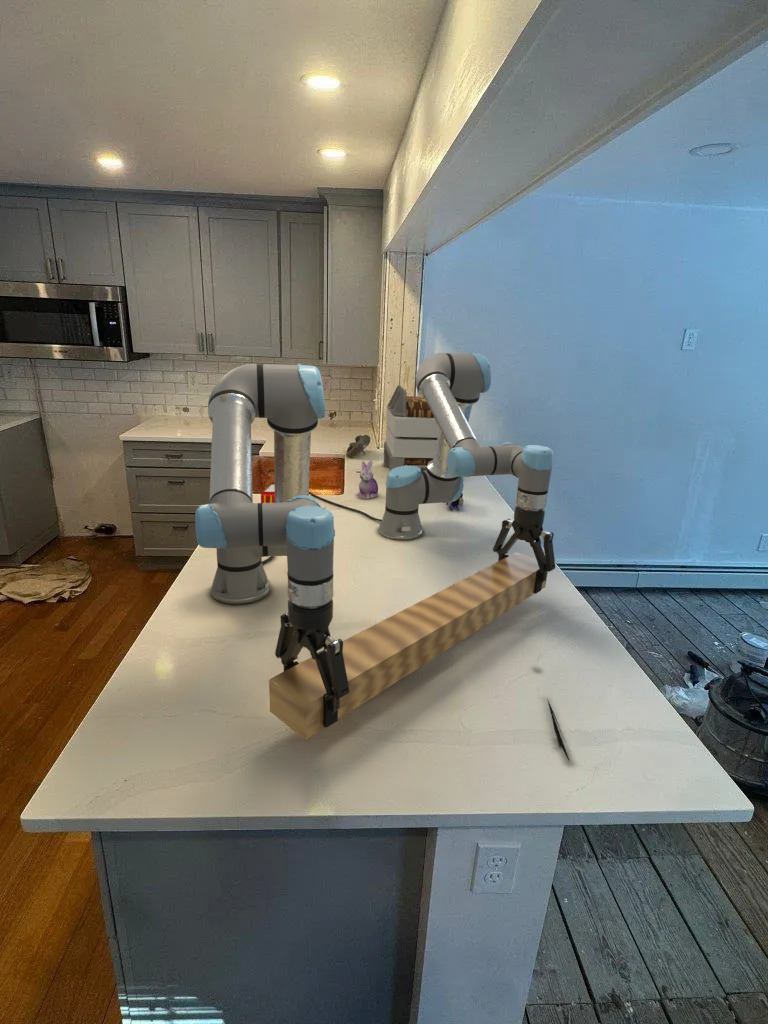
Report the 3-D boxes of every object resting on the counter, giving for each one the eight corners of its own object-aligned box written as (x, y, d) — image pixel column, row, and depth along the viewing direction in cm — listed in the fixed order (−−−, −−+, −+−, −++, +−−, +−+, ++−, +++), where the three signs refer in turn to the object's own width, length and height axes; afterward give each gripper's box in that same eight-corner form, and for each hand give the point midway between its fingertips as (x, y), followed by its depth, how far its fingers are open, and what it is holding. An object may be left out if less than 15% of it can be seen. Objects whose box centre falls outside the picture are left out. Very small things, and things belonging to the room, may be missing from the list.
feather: (537, 674, 127) (543, 668, 127) (569, 765, 101) (576, 758, 100) (531, 670, 127) (536, 664, 126) (561, 760, 100) (568, 753, 100)
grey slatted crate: (382, 463, 289) (386, 382, 275) (445, 464, 293) (451, 384, 279) (390, 482, 257) (394, 392, 243) (460, 483, 261) (468, 394, 247)
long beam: (513, 574, 159) (516, 552, 157) (545, 587, 153) (549, 563, 151) (269, 711, 102) (268, 678, 99) (305, 740, 95) (305, 706, 93)
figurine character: (463, 515, 225) (458, 499, 238) (465, 497, 221) (460, 482, 235) (446, 514, 224) (442, 498, 238) (448, 497, 221) (444, 482, 235)
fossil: (346, 440, 314) (367, 425, 309) (357, 454, 317) (378, 439, 312) (340, 454, 295) (362, 438, 290) (351, 468, 298) (374, 453, 293)
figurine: (363, 500, 232) (364, 465, 227) (352, 493, 240) (353, 459, 235) (383, 498, 236) (385, 463, 231) (372, 491, 244) (373, 457, 239)
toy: (300, 480, 222) (290, 493, 193) (300, 513, 225) (290, 531, 196) (269, 479, 222) (255, 492, 193) (270, 512, 225) (255, 530, 195)
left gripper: (252, 582, 99) (256, 688, 107) (339, 634, 85) (337, 752, 92) (286, 569, 104) (288, 671, 112) (374, 616, 90) (369, 730, 97)
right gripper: (484, 498, 149) (476, 574, 157) (564, 522, 135) (551, 604, 142) (500, 492, 154) (491, 566, 162) (578, 515, 140) (564, 595, 148)
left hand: (310, 708), depth 102 cm, fingers closed on long beam, 10 cm apart
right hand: (519, 584), depth 152 cm, fingers closed on long beam, 10 cm apart
